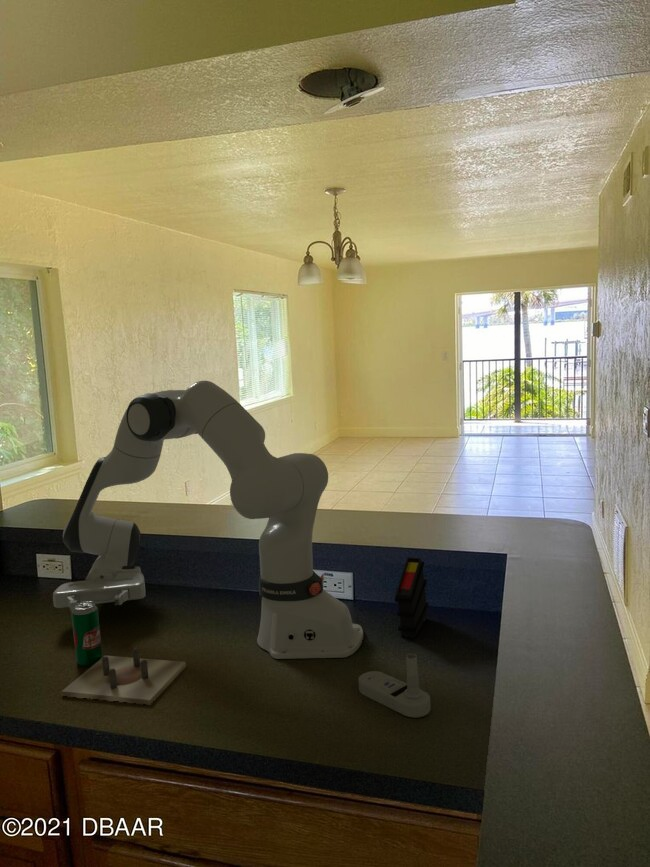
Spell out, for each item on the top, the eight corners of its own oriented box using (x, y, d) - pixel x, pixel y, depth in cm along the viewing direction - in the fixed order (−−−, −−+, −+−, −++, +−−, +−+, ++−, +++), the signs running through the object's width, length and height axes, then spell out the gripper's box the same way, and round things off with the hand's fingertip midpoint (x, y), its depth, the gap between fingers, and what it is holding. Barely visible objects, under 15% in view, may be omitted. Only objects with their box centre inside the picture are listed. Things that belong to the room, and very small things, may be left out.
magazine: (431, 605, 148) (423, 557, 140) (419, 653, 137) (409, 603, 130) (415, 604, 149) (406, 556, 141) (402, 650, 139) (391, 601, 131)
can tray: (186, 666, 128) (184, 644, 128) (150, 705, 115) (148, 680, 114) (105, 660, 133) (103, 638, 132) (62, 696, 119) (59, 672, 119)
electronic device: (370, 630, 119) (434, 655, 108) (374, 681, 120) (437, 710, 109) (349, 640, 116) (412, 666, 104) (353, 692, 117) (416, 724, 105)
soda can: (87, 669, 129) (81, 612, 127) (71, 664, 132) (65, 607, 130) (108, 658, 133) (102, 602, 132) (91, 653, 136) (86, 598, 134)
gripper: (58, 574, 155) (44, 596, 141) (146, 565, 158) (141, 585, 145) (60, 600, 155) (47, 623, 142) (148, 590, 159) (143, 612, 146)
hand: (95, 604), depth 143 cm, fingers open, 8 cm apart
